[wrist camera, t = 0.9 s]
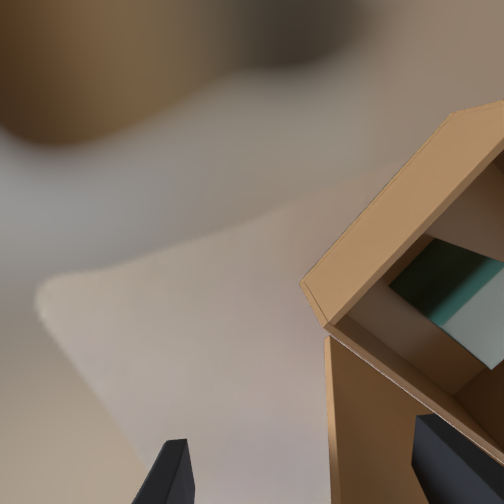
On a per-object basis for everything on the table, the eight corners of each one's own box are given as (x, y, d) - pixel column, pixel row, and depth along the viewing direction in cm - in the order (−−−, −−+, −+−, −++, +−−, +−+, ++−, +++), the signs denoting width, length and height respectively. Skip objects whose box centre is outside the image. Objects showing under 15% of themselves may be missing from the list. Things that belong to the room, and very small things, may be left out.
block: (476, 275, 19) (557, 313, 14) (429, 320, 20) (491, 370, 15) (435, 237, 18) (507, 263, 13) (387, 285, 19) (439, 327, 14)
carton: (594, 268, 20) (723, 305, 14) (448, 398, 22) (513, 470, 17) (451, 112, 16) (550, 87, 11) (298, 283, 19) (322, 327, 14)
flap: (629, 680, 11) (618, 680, 11) (526, 481, 16) (519, 482, 16) (341, 516, 8) (331, 518, 8) (329, 334, 13) (323, 338, 13)
